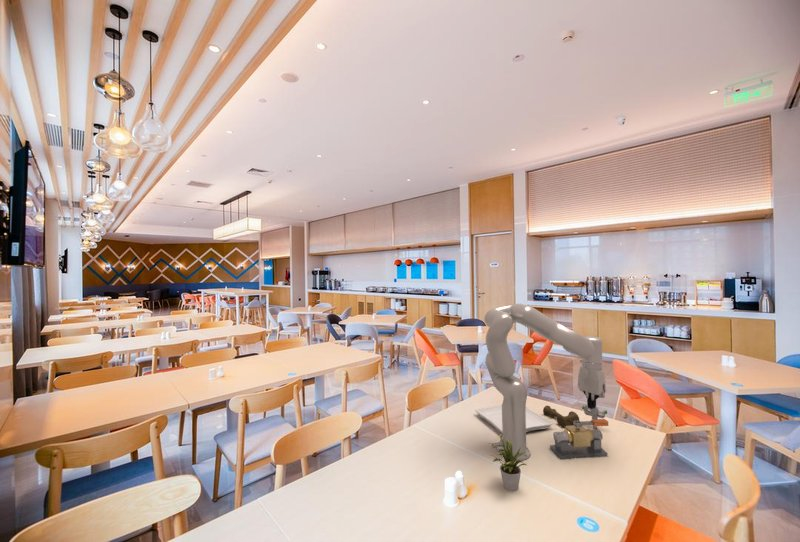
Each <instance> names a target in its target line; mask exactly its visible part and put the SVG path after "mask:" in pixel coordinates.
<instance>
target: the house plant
mask: <svg viewBox="0 0 800 542" xmlns="http://www.w3.org/2000/svg"><path fill="white" fill-rule="evenodd" d="M497 436H498V437H499V440H500V439H501V442H502V445H503V448H504V451H502V452H499V451H501V450H500V449H499V450H498V452H497V453H496V455H498V456H499V455H501V456H502V458H503V460H502V459H500V458H498V457H497V456H495V455H494V454H493V455H492V454H490V456H492V457H493V458H494V459H493V461H492V464H493V463H494V462H500V463H501V465H500V466H499V470H500V474H501V480H502V486H503V487H504V489H506V490H508V491H509V492H511V491H512V492H513V491H514V492H516V491H518V490H519V487H520V478H521V474H522V473H521V472H522V470H521V468H520V466H527V463H524V462H523V460H517V459H516V458H517V457H519V456H521V455H522V454H523V453H525V452H528V451H524V452H523V453H519V451H520V449H521V447H522V446H521V447H520V449H519V450H518V452H517V454H516V455H514V456H513V455H512V444H511V442H510V440H508V439H506V448H505V444H504V441H503V437H501V436H500V435H499V434H497ZM513 442H514V441H513ZM491 443H492V442H491ZM491 443H490V442H488V444H490V445H491ZM493 445H494V444H493ZM494 446H496V445H494ZM508 446H509V449H508ZM496 447H497V446H496ZM506 450H507V451H506ZM520 463H521V464H520Z"/></svg>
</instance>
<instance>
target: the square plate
mask: <svg viewBox="0 0 800 542" xmlns="http://www.w3.org/2000/svg"><path fill="white" fill-rule="evenodd" d="M474 411H475V412H476V413H477V414H478V415H479V416H480V417H481V418H482V419H484V420H485V421H486V422H488V423H489V424H490V425H492V426H493V427H494V429H495V430H497V431H498V432H500V433H501V434H502V404H499V405H498V404H497V405H494V406H488V407H482V408H478V409H475V410H474ZM487 416H488V417H487ZM492 420H495V421H492ZM553 424H554V423H553V422H551V421H550V420H548V419H547V418H546V417H543V416H542V415H540V414H538V412H535V411H533V410H532V409H530V408H528V407H527V406H526V433H528V432H533V431H539V430H543V429H544V430H545V429H547V428H549V427H551V426H553Z"/></svg>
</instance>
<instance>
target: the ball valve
mask: <svg viewBox="0 0 800 542" xmlns="http://www.w3.org/2000/svg"><path fill="white" fill-rule="evenodd" d="M552 433H553V434H552V435H553V440H554V443H555V444H554V445H549V450H550V451H551V452H552V453H554V455H555V456H556V457H557V458H558V459H559V460H573V459H575V458H576V459H588V458H603V457H604V458H605V457H608V452H607V451H606V450H604V449H603V448H602V440H603V433H602V431H601V430H600V429H590V428H586V427H584V426H582V427H576V426H574V425H573V424H572V425H566V427H565V429H563V430H562V431H554V432H552Z"/></svg>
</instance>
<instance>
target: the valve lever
mask: <svg viewBox="0 0 800 542" xmlns="http://www.w3.org/2000/svg"><path fill="white" fill-rule="evenodd" d="M573 425H574V426H576V427H582V426H583V427H584V426H592V427H593V426H594V427H595V426H597V427H608V426H609V421H608V419H607V420H606V418H598V419H590V420H585V421H582V420H580V419H579V420H575V421H573V423H572V426H573Z"/></svg>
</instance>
